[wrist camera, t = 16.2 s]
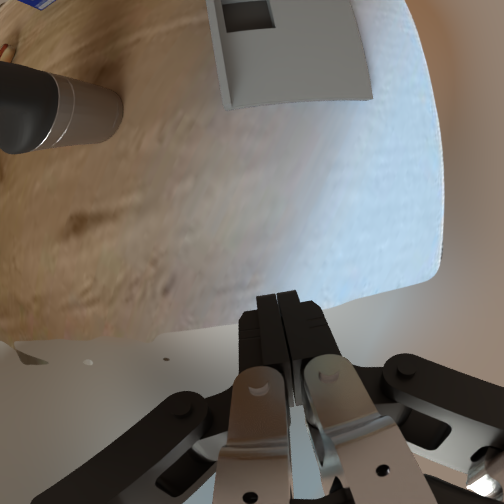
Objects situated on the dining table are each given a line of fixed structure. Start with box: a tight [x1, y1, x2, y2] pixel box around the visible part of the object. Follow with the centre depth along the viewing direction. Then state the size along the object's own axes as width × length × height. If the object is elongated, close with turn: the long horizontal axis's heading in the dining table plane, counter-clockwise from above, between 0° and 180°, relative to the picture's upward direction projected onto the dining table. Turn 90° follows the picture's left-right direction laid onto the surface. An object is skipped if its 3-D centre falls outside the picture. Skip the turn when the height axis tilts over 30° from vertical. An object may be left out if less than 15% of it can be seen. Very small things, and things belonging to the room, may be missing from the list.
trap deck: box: [206, 0, 373, 111], centre depth 25 cm, size 22×34×6 cm, turn 9°
